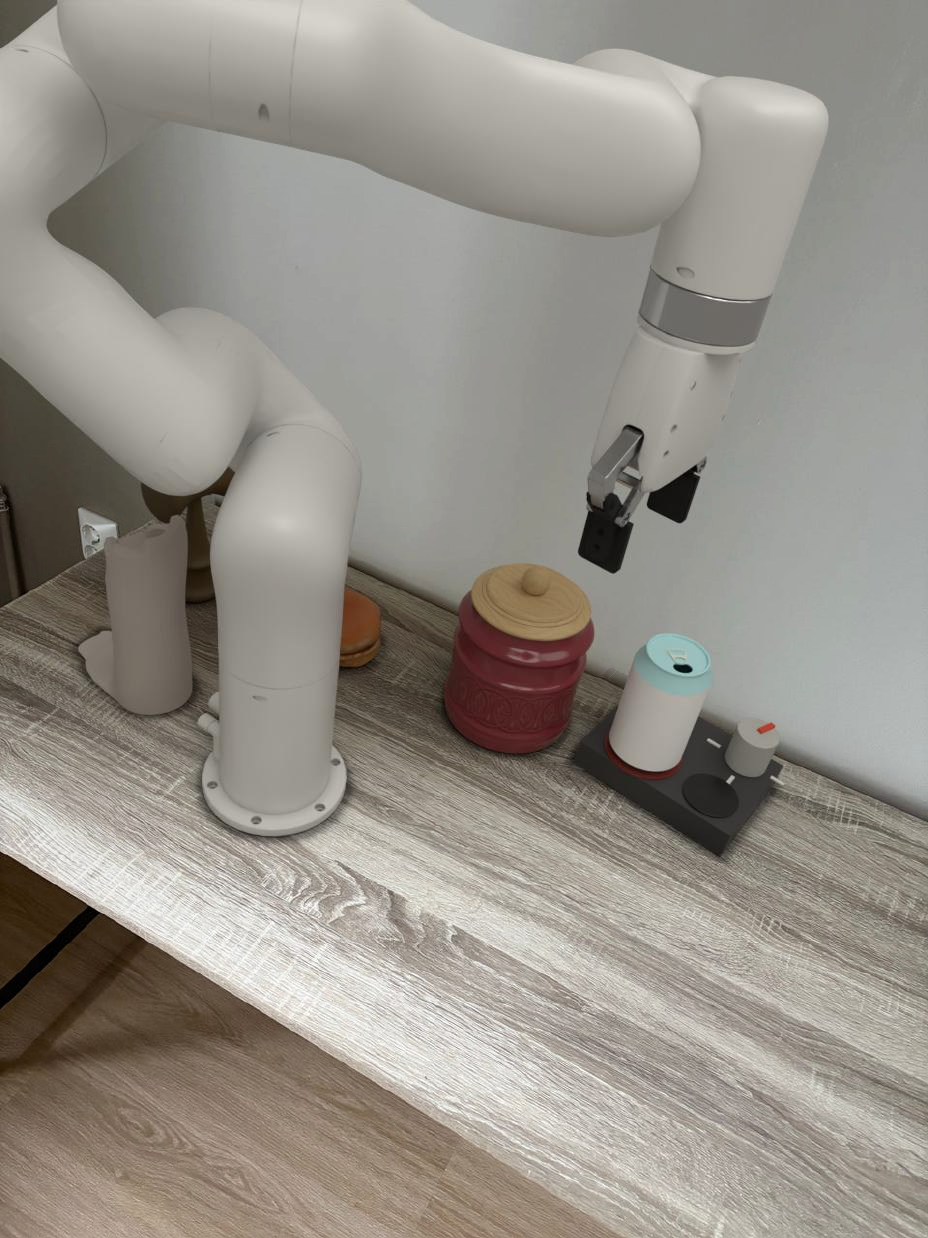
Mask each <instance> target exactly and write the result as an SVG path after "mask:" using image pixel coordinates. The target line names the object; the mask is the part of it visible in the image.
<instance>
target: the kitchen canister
mask: <svg viewBox="0 0 928 1238" xmlns="http://www.w3.org/2000/svg"><path fill="white" fill-rule="evenodd" d="M457 614H458V615H457V616H458V621H459V622H458V624H457V625H456V628H455V630H454V634H453V648H452V649H453V650H452V654H451V659H450V665H449V672H448V673H447V675H446V679H445V681H444V682H445V683H444V689H443V697H444V707H445V712H446V716H447V717H448V719H449V721H450V723H451V724H452V725H453V727H454V728H455V729H456V730H457V731H458V732H459V733H460V734H461V735H462V736H463V737H465V738H466V739H467V740H469V741H471V742H472V743H475V745H478V746H480V747H483V748H485V749H488V750H491V751H493V752H494V751H495V752H499V753H504V754H528V753H533V752H538V751H540V750H543V749H545V748H547V747H550V746H551V745H552V744H554V743H555V742H557V740H558V739H560V737H561V736H562V734H563V733H564V731H565V729H566V728H567V727H568V725H569V723H570V721H571V717H572V714H573V711H574V702H575V698H576V693H577V691H578V687H579V685H580V684H579V683H580V680H581V678H582V676H583V674H584V672H585V670H586V666H587V660H588V657H587V653H588V651H589V650H590V648H591V647H592V645H593V643H594V639H595V635H596V634H595V626H594V622H593V619H592V604H591V602H590V599H589V598H588V596H587V594H586V592H585V591H584V590H583V589H582V588H581V587H580V586H579V585H578V584H577V583H575V582H574V581H573V580H571V579H570V578H569V577H566V576H565V575H564V574H562V573H561V572H558V571H557V570H554V569H552V568H549V567H548V566H544V565H540V564H535V563H524V562H521V563H511V564H504V565H502V564H501V565H498V566H494V567H491V568H489V569H486V570H485V571H484V572H482V573H480V574H479V576H477V577H476V579H475V580H474V582H473V583H472V586H471V589H470V590H469V591H468V592H466V594H465V595H464V596H463V597H462V599H461V601H460V603H459V606H458V613H457Z"/></svg>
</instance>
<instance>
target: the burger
mask: <svg viewBox="0 0 928 1238" xmlns="http://www.w3.org/2000/svg"><path fill="white" fill-rule="evenodd" d="M381 632H382V613H381V609H380V608H379V606H378V604H377V603H375V602H374V601H373V600H372V599H371V598H370V597H368V596H366V595H364V594H363V593H360V592H357V591H356V590H352V589H348V588H344V602H343V619H342V633H341V644H340V661H339V668H340V667H342V668H349V667H351V668H359V667H361V666H364V665H366V664H368V663H369V662H371V661H372V660H374V659H375V658H376V656H377V655H378V653H379V651H380V649H381V644H382V638H381Z"/></svg>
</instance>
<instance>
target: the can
mask: <svg viewBox="0 0 928 1238" xmlns="http://www.w3.org/2000/svg"><path fill="white" fill-rule="evenodd" d="M711 659H712V658H711V656H710V654H709V652H708V651H707V650H706V649H705V647H704V646H703V645H701V643H699V642H697V641H696V640H694V639H692V638H691V637H689V636H685V635H682V634H680V633H679V634H678V633H671V632H664V633H658V634H655V635H653V636H652V637H650V638H649V639H648V640H647V642H646V644H644V645H642V646H641V647H639V649H638V650H637V651H636V652H635V655H634V657H633V660H632V663H631V666H630V668H629V669H630V670H629V672H628V676H627V679H626V681H625V684H624V687H623V691H622V694H621V697H620V700H619V702H618V705H617V706H618V708H617V711H616V715H615V718H614V721H613V724H612V727H611V730H610V733H609V741H610V744H611V746H612V748H613V750H614V751H615V753H616V754H617V755H618V756H619V757H620V758H621V759H622V760H624V761H625V762H627V763H628V764H630V765H632V766H634V767H636V768H639V769H642V770H647V771H665V770H668V769H671V768H673V767H674V766H676V765H677V764H678V763H679V762H680V760H681V758H682V755H683V753H684V750H685V748H686V745H687V743H688V740H689V738H690V735H691V733H692V730H693V728H694V725H695V723H696V720H697V718H698V716H699V715H700V712H701V710H702V708H703V706H704V703H705V701H706V698H707V695H708V693H709V690H710V688H711V686H712V683H713V671H712V669H711V665H712V660H711Z"/></svg>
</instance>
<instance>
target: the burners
mask: <svg viewBox="0 0 928 1238" xmlns="http://www.w3.org/2000/svg"><path fill="white" fill-rule="evenodd" d="M610 730H611V728H610V729H609V730H608V731H607V733H606V735H605V738H604V747H605V751H606V753H607V755H608V757H609V758H610V760H611V761H612V762H613V763H614V764H615V765H616V766H617V767H618V768H620V769H621V770H623V771H624V772H626V773H628V774H630V775H632V776H635V777H638V778H642V779H647V780H661V779H666V778H669V777H671V776H673V775H674V774H675V773H677V772H678V770H679V769H680V767H681V765H682V762H683V755H682V758H681V760H680V762H679V763H678V764H677V765H676V766H674V767H673V768H671V769H668V770H665V771H647V770H642V769H639V768H636V767H634V766H632V765H630V764H628V763H627V762H625V761H624V760H622V759H621V758H620V757H619V756H618V755H617V754H616V753H615V751H614V750H613V748H612V746H611V744H610V741H609V733H610ZM682 790H683V795H684V797H685V799H686V801H687V802H688V804H689V805H690V806H691V807H692V808H694V809H695V810H696V811H698V812H700V813H701V814H704V815H706V816H709V817H714V818H725V817H728V816H731V815H732V814H734V813H735V812H736V810H737V808H738V806H739V798H738V795H737V793H736V791H735V790H734V789H733V787H732V786H731V785H730V784H729V783H727V782H726V781H724V780H723V779H721V778H719V777H717V776H714V775H711V774H705V773H699V774H694V775H691V776H690V777H688V778H687V779H686V780H685V782H684V784H683V789H682Z"/></svg>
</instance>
